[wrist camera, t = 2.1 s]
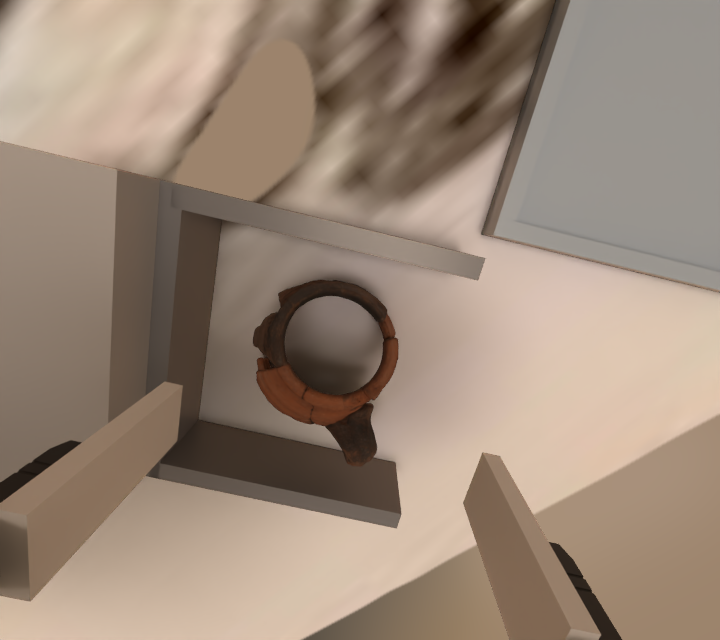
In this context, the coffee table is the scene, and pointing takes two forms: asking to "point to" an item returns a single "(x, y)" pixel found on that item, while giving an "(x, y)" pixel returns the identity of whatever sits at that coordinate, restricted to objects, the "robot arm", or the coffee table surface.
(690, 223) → the tray
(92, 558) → the coffee table surface
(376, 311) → the pottery mug
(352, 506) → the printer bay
